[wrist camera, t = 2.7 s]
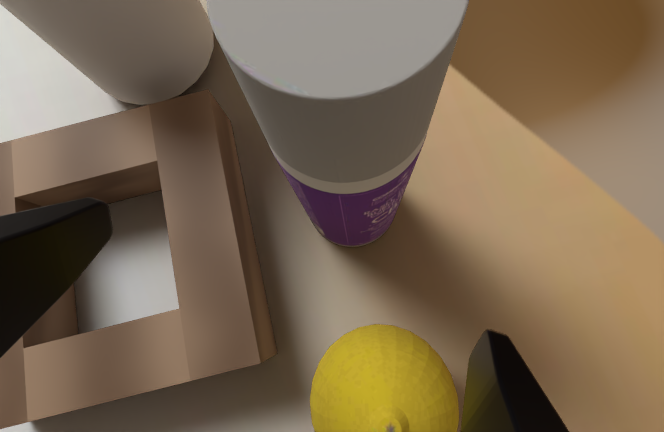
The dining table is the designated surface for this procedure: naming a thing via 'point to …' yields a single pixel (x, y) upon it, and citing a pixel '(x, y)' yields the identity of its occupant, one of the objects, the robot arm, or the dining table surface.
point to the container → (342, 96)
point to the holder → (186, 250)
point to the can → (126, 42)
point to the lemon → (383, 385)
